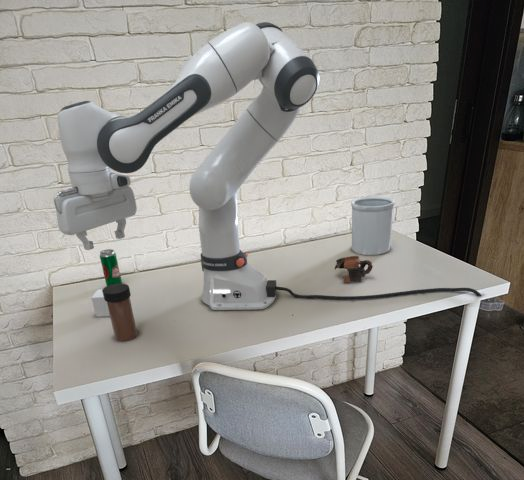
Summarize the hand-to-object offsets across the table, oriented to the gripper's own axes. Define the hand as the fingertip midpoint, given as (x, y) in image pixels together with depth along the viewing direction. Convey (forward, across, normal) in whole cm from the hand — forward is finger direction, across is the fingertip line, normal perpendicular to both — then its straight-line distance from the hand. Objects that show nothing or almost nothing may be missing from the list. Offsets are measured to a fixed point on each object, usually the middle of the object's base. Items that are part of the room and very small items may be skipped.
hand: (105, 243), depth 114 cm
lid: (+12, 0, 0) cm, 12 cm away
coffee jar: (+25, 0, 0) cm, 25 cm away
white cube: (+25, +8, +16) cm, 31 cm away
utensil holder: (+25, +92, -30) cm, 100 cm away
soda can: (+25, +23, +30) cm, 46 cm away
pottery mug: (+25, +63, -36) cm, 77 cm away
